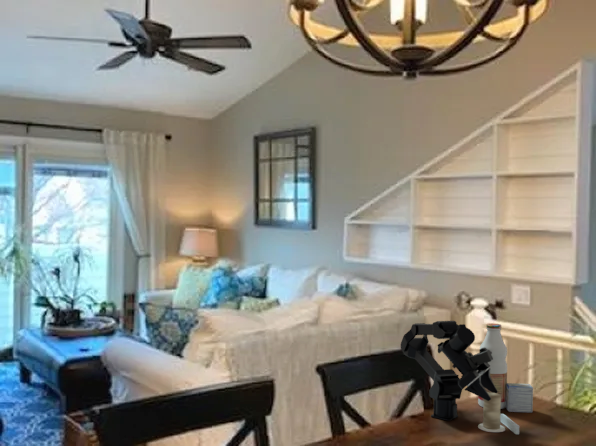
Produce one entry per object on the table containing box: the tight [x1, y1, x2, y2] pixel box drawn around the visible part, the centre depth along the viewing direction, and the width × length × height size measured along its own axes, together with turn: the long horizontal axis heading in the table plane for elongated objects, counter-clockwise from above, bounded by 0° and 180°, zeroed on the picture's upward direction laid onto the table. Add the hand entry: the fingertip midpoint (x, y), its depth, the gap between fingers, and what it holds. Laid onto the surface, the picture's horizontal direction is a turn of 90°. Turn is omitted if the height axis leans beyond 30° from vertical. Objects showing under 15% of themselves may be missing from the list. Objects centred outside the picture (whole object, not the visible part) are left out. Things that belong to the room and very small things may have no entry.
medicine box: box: [505, 382, 534, 413], centre depth 223 cm, size 8×4×9 cm, turn 84°
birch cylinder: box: [482, 392, 501, 430], centre depth 205 cm, size 5×5×10 cm
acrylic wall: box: [500, 413, 520, 435], centre depth 205 cm, size 12×1×2 cm, turn 5°
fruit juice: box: [477, 322, 508, 410], centre depth 228 cm, size 9×9×28 cm
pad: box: [477, 422, 506, 433], centre depth 205 cm, size 8×8×1 cm
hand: (493, 396), depth 205 cm, fingers open, 9 cm apart
